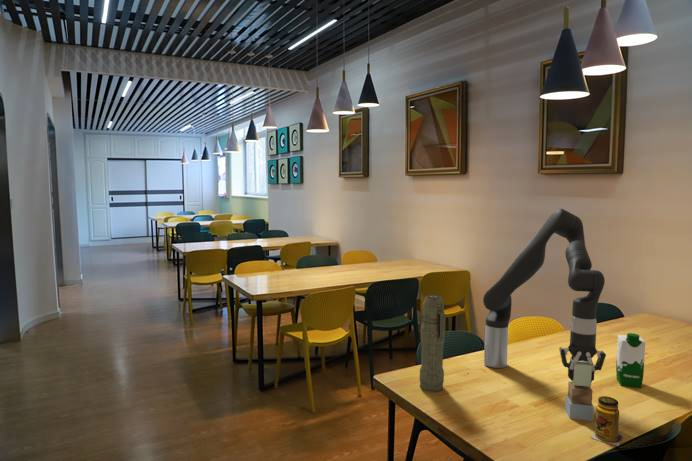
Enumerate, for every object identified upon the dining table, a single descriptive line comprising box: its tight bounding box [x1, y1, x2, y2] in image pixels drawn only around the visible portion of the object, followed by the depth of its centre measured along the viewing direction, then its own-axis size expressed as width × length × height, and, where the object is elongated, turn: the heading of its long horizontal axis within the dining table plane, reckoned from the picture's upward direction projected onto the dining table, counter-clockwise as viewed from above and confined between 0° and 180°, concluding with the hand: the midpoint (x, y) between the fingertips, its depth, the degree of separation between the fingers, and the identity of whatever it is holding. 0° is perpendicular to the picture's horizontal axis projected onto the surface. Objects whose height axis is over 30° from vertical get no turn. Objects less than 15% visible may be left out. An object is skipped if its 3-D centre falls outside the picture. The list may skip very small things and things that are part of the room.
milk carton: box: [615, 332, 646, 389], centre depth 179 cm, size 9×9×20 cm
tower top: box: [567, 380, 593, 406], centre depth 153 cm, size 6×6×5 cm
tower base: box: [564, 394, 595, 422], centre depth 153 cm, size 7×7×5 cm
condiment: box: [590, 395, 625, 447], centre depth 139 cm, size 7×8×12 cm
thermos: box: [419, 294, 447, 393], centre depth 173 cm, size 9×12×35 cm
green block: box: [570, 361, 592, 388], centre depth 152 cm, size 5×5×7 cm
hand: (580, 380), depth 153 cm, fingers closed on green block, 5 cm apart
